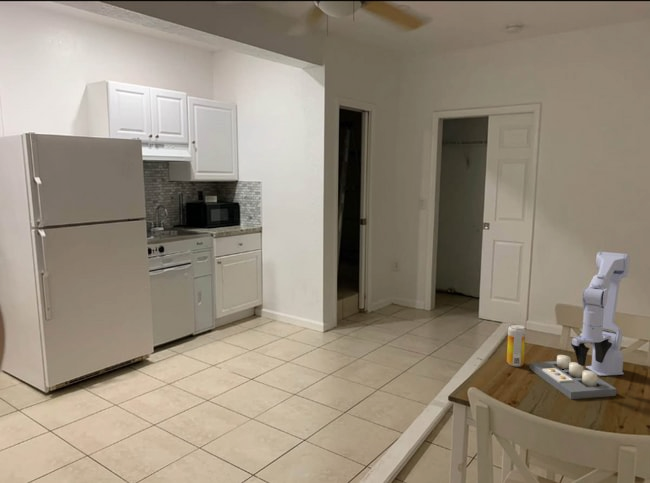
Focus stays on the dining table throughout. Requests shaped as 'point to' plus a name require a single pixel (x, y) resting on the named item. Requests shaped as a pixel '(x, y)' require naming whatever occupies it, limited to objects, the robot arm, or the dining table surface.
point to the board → (573, 383)
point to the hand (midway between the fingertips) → (590, 363)
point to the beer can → (516, 345)
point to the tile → (557, 375)
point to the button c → (589, 378)
